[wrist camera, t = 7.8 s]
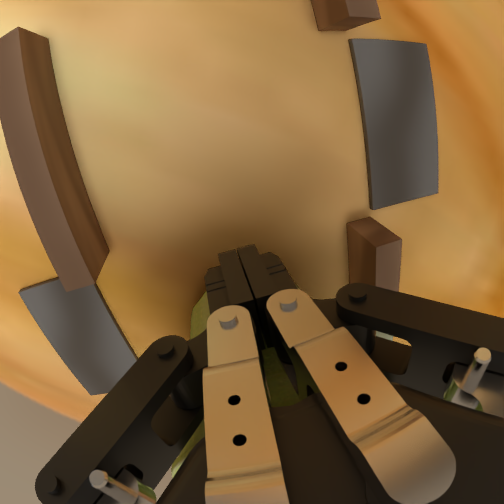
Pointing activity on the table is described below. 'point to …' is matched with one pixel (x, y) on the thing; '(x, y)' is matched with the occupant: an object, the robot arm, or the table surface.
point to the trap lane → (87, 228)
